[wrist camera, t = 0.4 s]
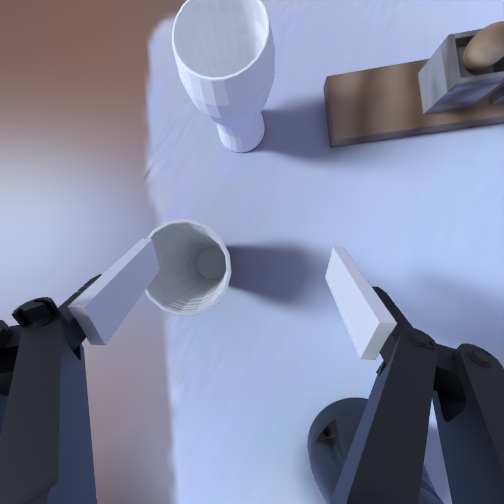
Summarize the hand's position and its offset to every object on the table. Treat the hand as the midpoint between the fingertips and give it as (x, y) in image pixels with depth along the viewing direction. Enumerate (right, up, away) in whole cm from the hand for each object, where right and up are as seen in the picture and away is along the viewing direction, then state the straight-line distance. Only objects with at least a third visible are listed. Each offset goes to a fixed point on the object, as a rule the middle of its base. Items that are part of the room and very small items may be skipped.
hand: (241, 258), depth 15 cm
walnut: (+28, +24, +8) cm, 38 cm away
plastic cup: (-6, -2, +19) cm, 20 cm away
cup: (-1, +21, +19) cm, 28 cm away
